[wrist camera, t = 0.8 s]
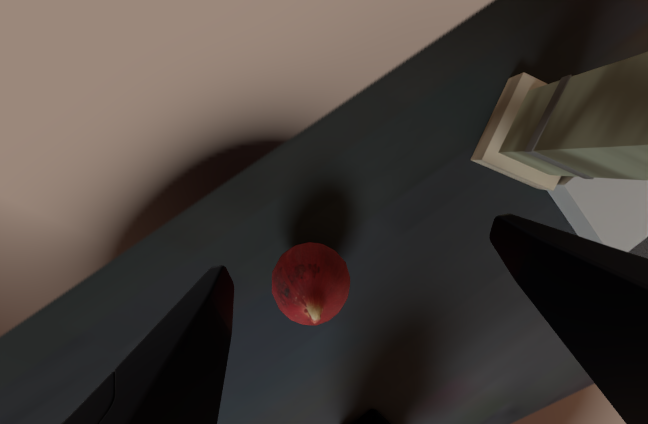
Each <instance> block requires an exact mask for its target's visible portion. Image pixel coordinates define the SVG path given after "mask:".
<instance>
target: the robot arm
mask: <svg viewBox="0 0 648 424" xmlns="http://www.w3.org/2000/svg"><path fill="white" fill-rule="evenodd" d="M490 241H491V243H492V245H493V246H494V248H495V249H496V251H497V252H498V254H499V256H500V257H501V259H502V260H503V262H504V264H505V265H506V267H507V268H508V270H509V272H510V273H511V275H512V276H513V278H514V279H515V281H516V282H517V283H518V285H519V286H520V287H521V289H522V290H523V291H524V293H525V294H526V295H527V296H528V298H529V299H530V300H531V302H532V303H533V304H534V305H535V307H536V308H537V309H538V311H539V312H540V313H541V314H542V316H543V317H544V318H545V320H546V321H547V322H548V323H549V325H550V326H551V327H552V329H553V330H554V331H555V333H556V334H557V335H558V336H559V338H560V339H561V340H562V342H563V343H564V344H565V345H566V347H567V348H568V349H569V351H570V352H571V353H572V354H573V356H574V357H575V358H576V360H577V361H578V362H579V363H580V365H581V366H582V367H583V369H584V370H585V371H586V372H587V374H588V375H589V376H590V378H591V379H592V380H593V381H594V383H595V384H596V385H597V387H598V388H599V389H600V390H601V392H602V393H603V394H604V396H605V397H606V398H607V399H608V401H609V402H610V403H611V405H613V407H614V408H615V410H616V411H617V412H618V413H619V415H620V416H621V417H622V419H623V420H624V421H625V422H626V424H648V259H647V258H644V257H641V256H638V255H635V254H632V253H629V252H625V251H622V250H619V249H616V248H613V247H610V246H607V245H604V244H601V243H598V242H595V241H592V240H589V239H586V238H583V237H580V236H577V235H574V234H571V233H567V232H564V231H561V230H558V229H555V228H552V227H549V226H546V225H543V224H540V223H537V222H534V221H531V220H528V219H525V218H522V217H519V216H516V215H512V214H504V215H498V216H496V217H495V219H494V221H493V225H492V228H491V232H490ZM233 301H234V284H233V281H232V279H231V277H230V275H229V273H228V271H227V269H226V267H225V266H223V265H221V266H215V267H211V268H210V269H209V270H208V271H207V272H206V273H205V274H204V275H203V276H202V277H201V278H200V279H199V280H198V281H197V283H196V284H195V285H194V286H193V287H192V288H191V289H190V290H189V291H188V292H187V293H186V294H185V295H184V296H183V297H182V298H181V299H180V301H179V302H178V303H177V304H176V305H175V306H174V307H173V308H172V309H171V310H170V311H169V312H168V313H167V314H166V315H165V316H164V318H163V319H162V320H161V321H160V322H159V323H158V324H157V325H156V326H155V327H154V328H153V329H152V330H151V331H150V332H149V333H148V334H147V336H146V337H145V338H144V339H143V340H142V341H141V342H140V343H139V344H138V345H137V346H136V347H135V348H134V349H133V350H132V351H131V353H130V354H129V355H128V356H127V357H126V358H125V359H124V360H123V361H122V362H121V363H120V364H119V365H118V366H117V367H116V368H115V372H112V373H111V374H110V375H109V376H108V377H107V378H106V379H105V380H104V381H103V382H102V383H101V384H100V385H99V386H98V387H97V388H96V389H95V390H94V391H93V392H92V394H91V395H90V396H89V397H88V398H87V399H86V400H85V401H84V402H83V403H82V404H81V405H80V406H79V407H78V408H77V409H76V410H75V411H74V412H73V413H72V414H71V415H70V416H69V417H68V418H67V419H66V420H65V421H64V422H63V423H62V424H217V420H218V414H219V408H220V402H221V396H222V390H223V384H224V378H225V372H226V366H227V360H228V354H229V348H230V342H231V335H232V320H233ZM373 415H374V416H373ZM354 424H390V423H389V422H388V421H387V420H386V419H385V418H384V417H383V416H382V415H381V414H380V413H379V412H378V411H376V410H370V411H369V412H368V413H366V414H365V415H364V416H362V417H361V418H360V419H359V420H357V421H356V422H355V423H354Z"/></svg>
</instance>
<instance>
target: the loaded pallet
mask: <svg viewBox="0 0 648 424" xmlns="http://www.w3.org/2000/svg"><path fill="white" fill-rule="evenodd" d="M471 160H472V161H474V162H476V163H479V164H481V165H483V166H486V167H488V168H490V169H493V170H495V171H497V172H500V173H502V174H504V175H507V176H509V177H511V178H514V179H516V180H518V181H521V182H523V183H525V184H528V185H530V186H532V187H535V188H537V189H543V190H551V191H554V189H555V187H556V185H557V183H558V181H559V179H560V178H561V176H574V177H581V178H583V179H594V178H611V179H630V180H648V52H646V53H643V54H640V55H636V56H633V57H630V58H627V59H624V60H621V61H618V62H615V63H612V64H609V65H606V66H603V67H600V68H596V69H593V70H590V71H587V72H584V73H581V74H578V75H575V76H572V75H568V76H565V77H562V78H561V80H559V81H556V82H553V83H550V84H547V83H545V82H543V81H541V80H539V79H536V78H534V77H532V76H530V75H528V74H526V73H524V72H523V73H521V74H518V75H516V76H514V77H511V78H509V79H508V81H507V83H506V86H505V88H504V90H503V92H502V94H501V96H500V98H499V100H498V102H497V105H496V107H495V109H494V111H493V113H492V115H491V117H490V119H489V122H488V124H487V126H486V128H485V130H484V132H483V134H482V136H481V138H480V141H479V143H478V145H477V147H476V149H475V151H474V153H473V155H472V158H471Z"/></svg>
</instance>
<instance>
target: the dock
mask: <svg viewBox="0 0 648 424" xmlns="http://www.w3.org/2000/svg"><path fill="white" fill-rule="evenodd" d="M547 191H548V193H549V194H550V196H551V197H552V198H553V200H554V201H555V203H556V204H557V206H558V207H559V209H560V210H561V211H562V213H563V214H564V216H565V217H566V219H567V220H568V222H569V223H570V225H571V226H572V227H573V229H574V230H575V232H576V233H577V235H578V236H580V237H583V238H586V239H589V240H592V241H595V242H598V243H601V244H604V245H607V246H610V247H613V248H616V249H619V250H622V251H625V252H628V251H630V250H631V249H632V248H634V247H635V246H636V245H638V244H639V243H640V242H641V241H643V240H644V239H645V238H647V237H648V180H630V179H611V178H594V179H583V178H581V177H574V176H561V178H560V179H559V181H558V183H557V185H556V187H555V189H554V191H551V190H547Z"/></svg>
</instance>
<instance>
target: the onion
mask: <svg viewBox="0 0 648 424" xmlns="http://www.w3.org/2000/svg"><path fill="white" fill-rule="evenodd" d="M349 287H350V276H349V273H348V269H347V266H346V262H345V261H344V260H343V259H342V258H341V257H340V256H339V255H338V253H337V252H336V251H335V250H333V249H331V248H329V247H328V246H326V245H324V244H320V243H312V242H308V243H303V244H299V245H295V246H294V247H292V248H291V249H289V250H288V251H286V252H285V253H284V254H282V256H281V257H280V259H279V261H278V263H277V264H276V266H275V268H274V270H273V272H272V294H273V296H274V298H275V300H276V302H277V304H278V307H279V309H280V310H281V311H282V312H283V313H284V314H285V315H286V316H287V317H288V318H289V319H291V320H292V321H295V322H298V323H300V324H303V325H319V324H321V323H324V322H326V321H329V320H330V319H331V318H332V317H334V316H335V315H336V314H337V313H338V312H340V310H341V308H342V307H343V305H344V303H345V302H346V300H347V297H348V293H349Z"/></svg>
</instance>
